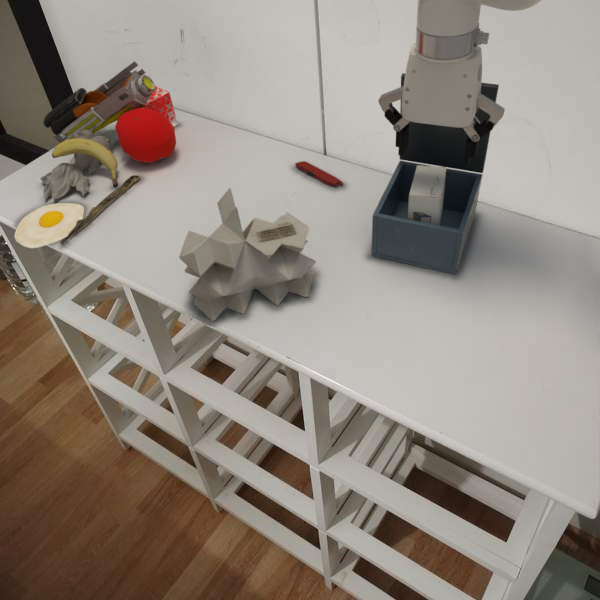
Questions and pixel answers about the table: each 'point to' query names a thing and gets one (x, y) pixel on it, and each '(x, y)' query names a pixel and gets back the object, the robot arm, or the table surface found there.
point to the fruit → (88, 153)
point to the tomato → (145, 135)
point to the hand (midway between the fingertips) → (434, 155)
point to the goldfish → (73, 170)
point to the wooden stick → (101, 206)
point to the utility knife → (318, 174)
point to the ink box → (427, 194)
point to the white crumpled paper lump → (247, 261)
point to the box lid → (447, 140)
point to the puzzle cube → (162, 104)
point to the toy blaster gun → (100, 104)
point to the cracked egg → (48, 224)
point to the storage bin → (419, 235)
